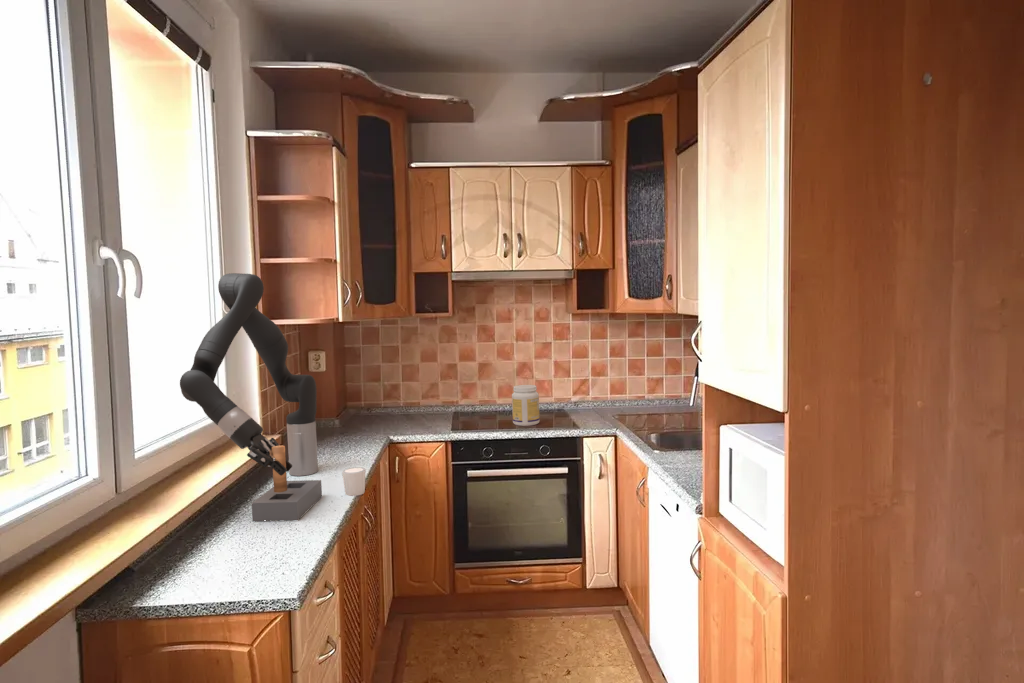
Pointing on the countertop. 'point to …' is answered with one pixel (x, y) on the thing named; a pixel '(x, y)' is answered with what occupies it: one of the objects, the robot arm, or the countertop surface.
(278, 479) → the peg
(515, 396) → the supplement tub
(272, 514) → the hole block
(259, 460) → the robot arm
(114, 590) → the countertop surface
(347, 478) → the shot glass
